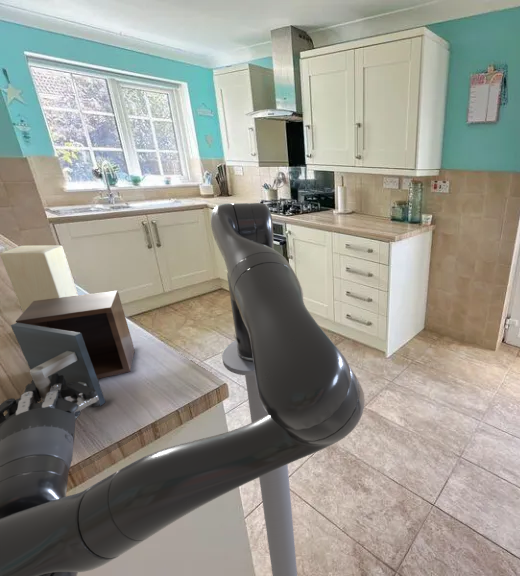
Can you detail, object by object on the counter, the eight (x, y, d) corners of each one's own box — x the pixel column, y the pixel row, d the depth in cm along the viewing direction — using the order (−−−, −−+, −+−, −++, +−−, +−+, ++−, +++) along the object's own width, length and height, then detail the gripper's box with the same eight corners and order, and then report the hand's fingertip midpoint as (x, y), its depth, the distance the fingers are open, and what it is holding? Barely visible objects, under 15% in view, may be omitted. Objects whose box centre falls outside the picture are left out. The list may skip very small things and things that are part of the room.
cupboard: (130, 371, 68) (110, 307, 62) (45, 390, 62) (15, 321, 56) (134, 349, 75) (117, 290, 69) (59, 364, 69) (33, 300, 63)
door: (66, 430, 53) (33, 355, 48) (2, 416, 55) (-37, 343, 50) (105, 402, 60) (81, 332, 54) (47, 390, 62) (17, 322, 56)
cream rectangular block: (90, 321, 85) (64, 243, 77) (73, 336, 79) (43, 252, 71) (53, 324, 83) (22, 244, 75) (33, 339, 77) (-3, 253, 69)
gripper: (-38, 505, 39) (-5, 416, 51) (109, 448, 47) (107, 383, 59) (-69, 460, 36) (-26, 377, 48) (94, 408, 44) (95, 348, 56)
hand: (47, 381), depth 54 cm, fingers closed on door
